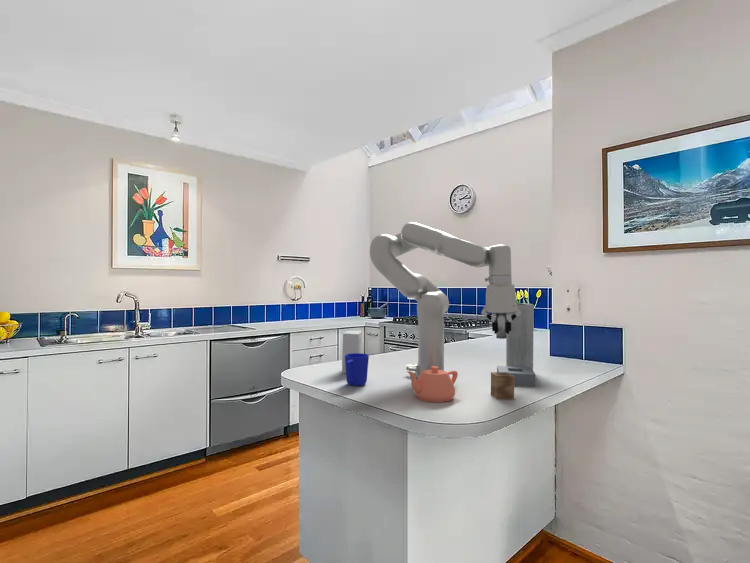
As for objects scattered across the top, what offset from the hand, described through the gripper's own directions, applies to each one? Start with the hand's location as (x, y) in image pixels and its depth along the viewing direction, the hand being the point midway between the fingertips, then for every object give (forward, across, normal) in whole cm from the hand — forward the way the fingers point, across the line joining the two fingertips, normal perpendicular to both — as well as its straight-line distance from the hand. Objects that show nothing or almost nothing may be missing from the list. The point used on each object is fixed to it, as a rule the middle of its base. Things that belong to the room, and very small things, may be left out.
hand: (501, 332), depth 144 cm
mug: (+16, -48, -18) cm, 54 cm away
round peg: (+2, 0, 0) cm, 2 cm away
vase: (+18, +6, +21) cm, 29 cm away
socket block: (+18, +4, +6) cm, 19 cm away
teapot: (+18, -21, -24) cm, 37 cm away
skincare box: (+16, -57, +3) cm, 59 cm away
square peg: (+18, -1, -16) cm, 24 cm away
